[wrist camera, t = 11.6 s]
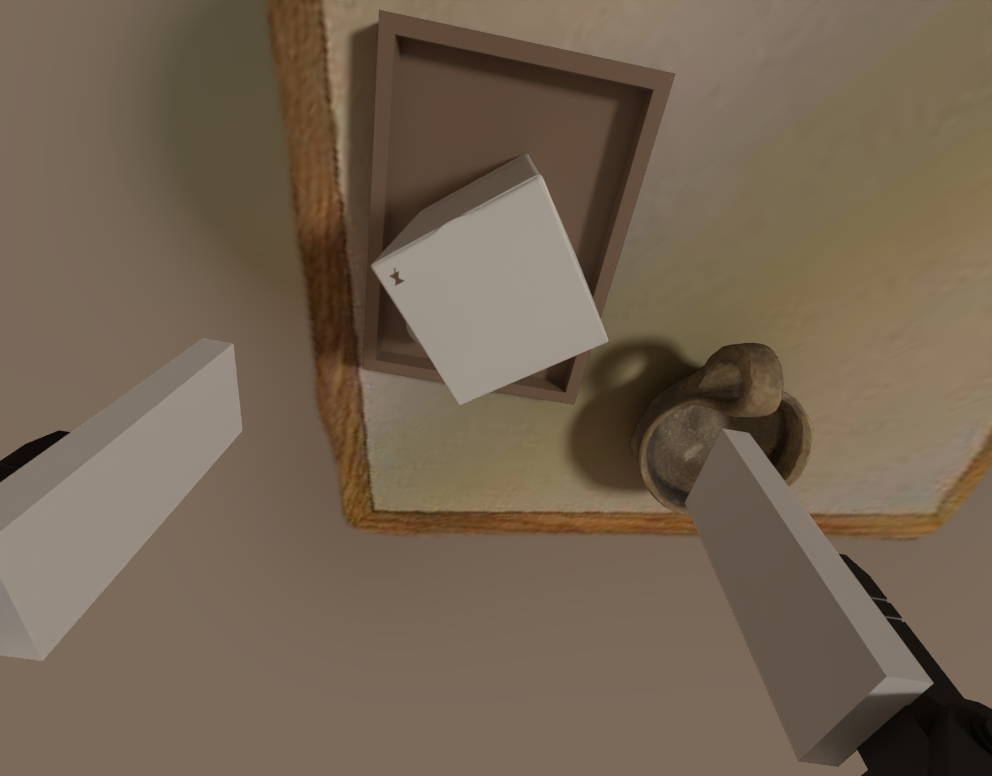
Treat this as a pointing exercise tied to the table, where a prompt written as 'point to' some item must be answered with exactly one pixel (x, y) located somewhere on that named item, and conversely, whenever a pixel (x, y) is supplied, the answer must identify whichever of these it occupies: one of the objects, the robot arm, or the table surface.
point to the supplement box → (491, 283)
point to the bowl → (720, 422)
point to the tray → (503, 157)
